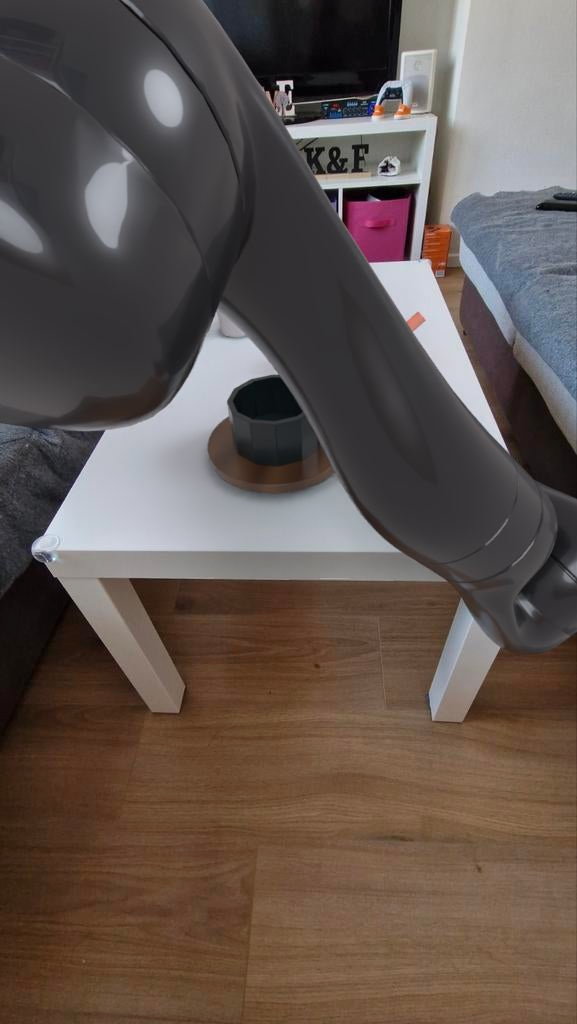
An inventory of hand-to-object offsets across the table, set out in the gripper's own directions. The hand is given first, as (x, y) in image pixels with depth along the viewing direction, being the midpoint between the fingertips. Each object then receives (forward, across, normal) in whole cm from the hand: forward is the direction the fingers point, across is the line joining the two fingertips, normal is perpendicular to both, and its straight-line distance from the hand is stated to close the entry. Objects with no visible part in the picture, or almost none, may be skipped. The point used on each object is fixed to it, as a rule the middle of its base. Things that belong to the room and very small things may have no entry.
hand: (341, 355), depth 55 cm
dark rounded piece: (+3, +8, +13) cm, 15 cm away
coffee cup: (+41, +3, +13) cm, 43 cm away
